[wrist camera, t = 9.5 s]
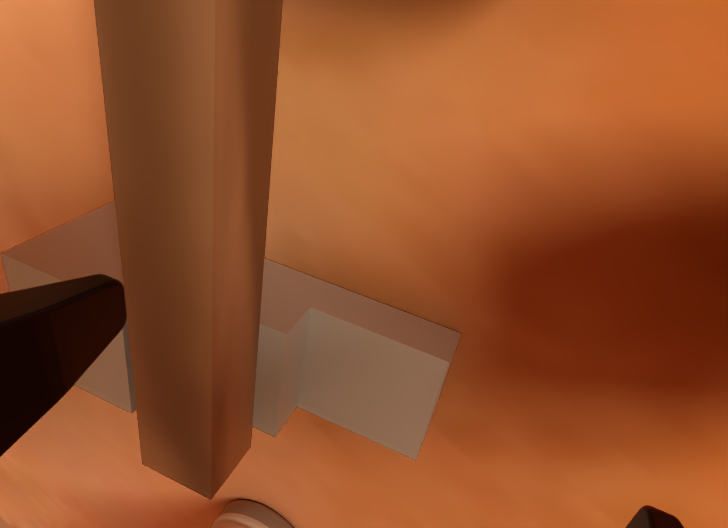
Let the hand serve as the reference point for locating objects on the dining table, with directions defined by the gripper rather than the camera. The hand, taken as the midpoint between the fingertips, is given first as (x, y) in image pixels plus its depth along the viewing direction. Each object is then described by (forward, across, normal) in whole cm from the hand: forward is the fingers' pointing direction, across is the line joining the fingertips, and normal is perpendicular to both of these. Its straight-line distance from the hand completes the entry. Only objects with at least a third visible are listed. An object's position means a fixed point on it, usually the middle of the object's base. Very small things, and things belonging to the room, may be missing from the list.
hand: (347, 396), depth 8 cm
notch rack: (+12, +8, +10) cm, 18 cm away
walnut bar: (+8, +8, 0) cm, 11 cm away
